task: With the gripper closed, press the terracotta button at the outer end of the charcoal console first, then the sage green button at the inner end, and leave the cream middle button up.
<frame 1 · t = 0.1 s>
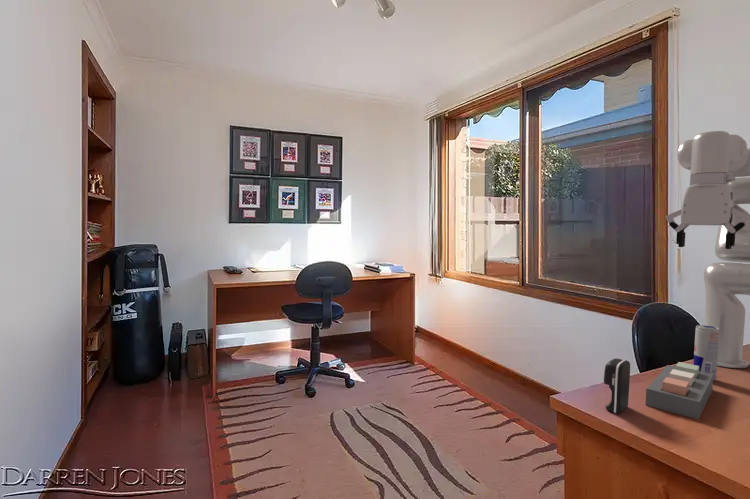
hand: (704, 247, 106), 37 cm above the table, tool pointing down, fingers open, 9 cm apart
beverage can: (704, 379, 114), on the table
cream button: (681, 379, 102), point 4 cm above the table, slide at 0.0 cm
sage button: (687, 371, 107), point 4 cm above the table, slide at 0.0 cm
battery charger: (614, 409, 95), on the table
console: (680, 396, 102), on the table
terracotta button: (675, 388, 96), point 4 cm above the table, slide at 0.0 cm
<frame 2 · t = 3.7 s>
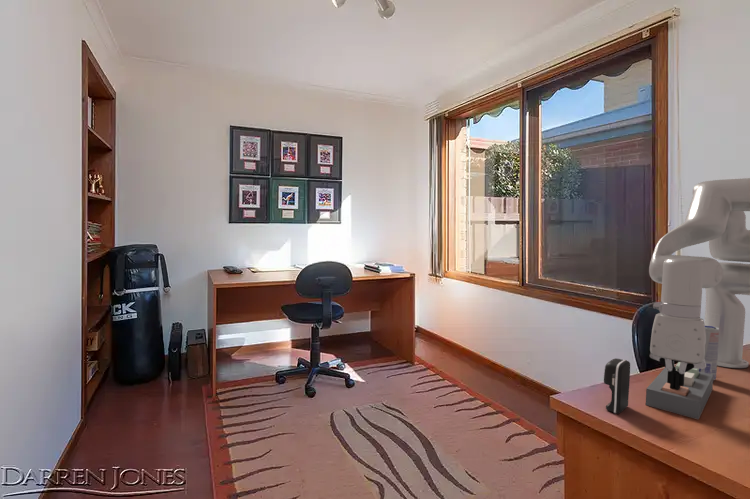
hand: (675, 387, 96), 5 cm above the table, tool pointing down, fingers closed
terracotta button: (675, 394, 96), point 3 cm above the table, slide at 1.4 cm, touching gripper
everything else where it was.
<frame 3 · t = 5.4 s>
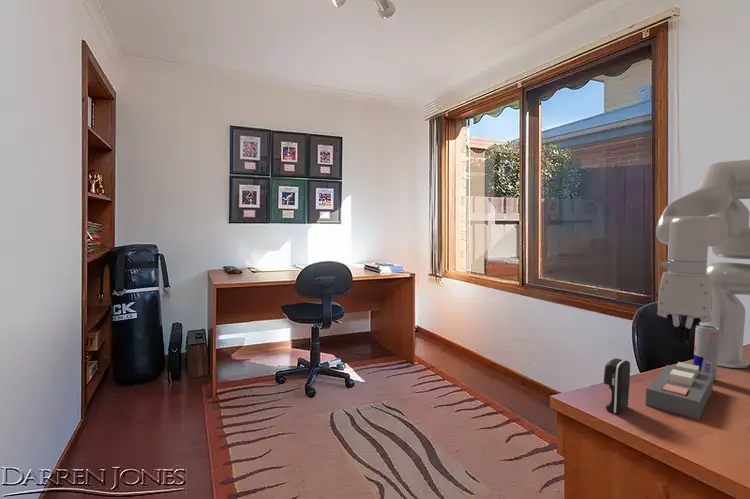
hand: (682, 342, 99), 14 cm above the table, tool pointing down, fingers closed
terracotta button: (675, 395, 96), point 3 cm above the table, slide at 1.7 cm
everything else where it was.
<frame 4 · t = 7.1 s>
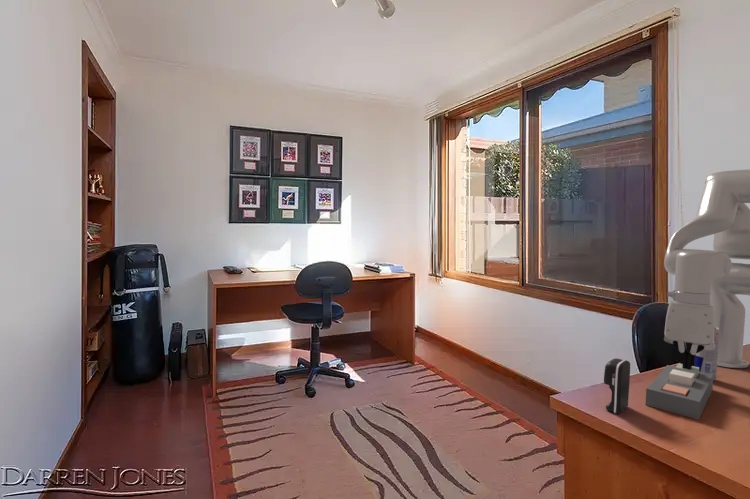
hand: (687, 367, 107), 6 cm above the table, tool pointing down, fingers closed
sage button: (687, 373, 107), point 4 cm above the table, slide at 0.4 cm, touching gripper
everything else where it was.
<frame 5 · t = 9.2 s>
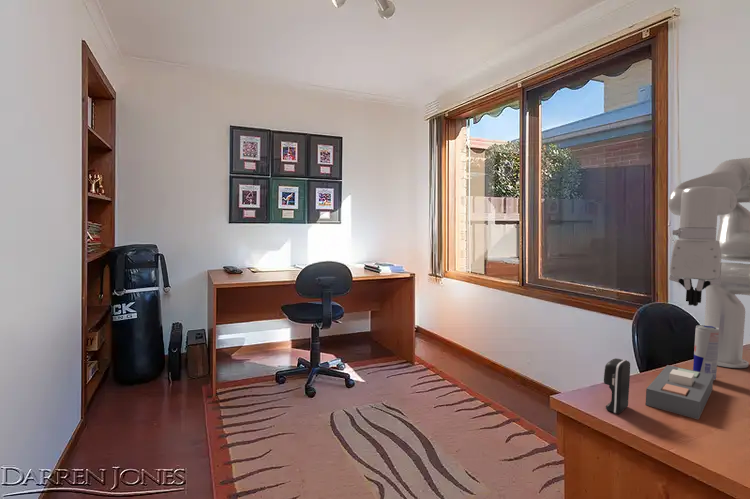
hand: (693, 304, 107), 22 cm above the table, tool pointing down, fingers closed
sage button: (686, 378, 108), point 3 cm above the table, slide at 1.7 cm
everything else where it was.
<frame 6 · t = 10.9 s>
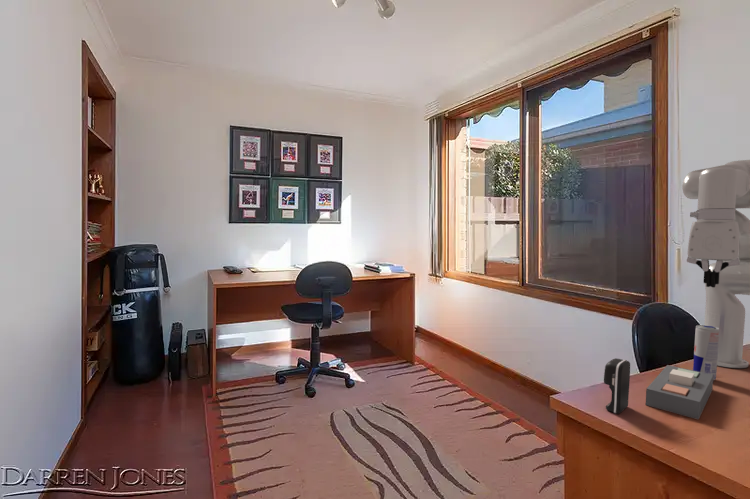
hand: (710, 286, 107), 27 cm above the table, tool pointing down, fingers closed
nothing on the table moved.
at the end: terracotta button slide at 1.7 cm; sage button slide at 1.7 cm; cream button slide at 0.0 cm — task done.
